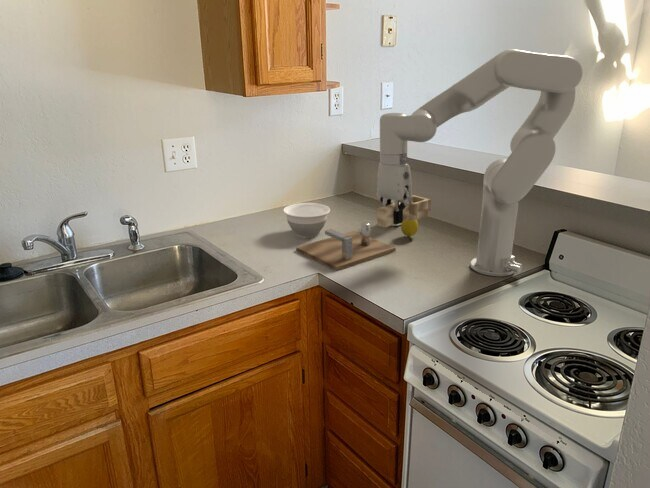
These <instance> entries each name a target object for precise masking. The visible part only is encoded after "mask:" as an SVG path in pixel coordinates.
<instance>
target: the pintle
mask: <svg viewBox="0 0 650 488" xmlns="http://www.w3.org/2000/svg"><path fill="white" fill-rule="evenodd" d="M360 225H361V226H360V228H361V229H360V230H361V231H360V234H361V245H362V246H369V245H370V238H371V223H370V222H364V221H363V222H361V224H360Z"/></svg>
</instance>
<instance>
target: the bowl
mask: <svg viewBox="0 0 650 488" xmlns="http://www.w3.org/2000/svg"><path fill="white" fill-rule="evenodd" d="M282 211H283V213H284V214H285V215H286V221H287V224H288V225H289V228H290V229H291V230H292V231H293V232H294V235H295V236H296V237H299V238H307V239H308V238H314V237H317V236H319V235H320V234H321V231H322V230H323V228H324V226H325V225H326V222H327V218H328V214H329V213H330V212H331V208H330V207H329V206H328V205H325V204H322V203H316V202H298V203H293V204H290V205H287V206H285V207H284V208H283V210H282Z"/></svg>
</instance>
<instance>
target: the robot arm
mask: <svg viewBox="0 0 650 488" xmlns="http://www.w3.org/2000/svg"><path fill="white" fill-rule="evenodd" d="M583 74H584V72H583V66H582V65H581V63H580V61H578V60H577V59H576V58H575V57H572V56H569V55H562V54H548V53H541V52H532V51H527V50H521V49H514V48H510V49H506V50H503V51H501V52H500V53H497V54H496V55H495V56H494V57H492V58H490V60H487V61H486V62H485V63H483V64H482V65H481V66H479V67H478V68H476V69H474V71H472V72H470V73H469V74H468V75H466V76H465V77H464V78H462V79H460V80H459V81H457V82H456V83H453V85H451V86H450V87H448V88H446V89H445V90H444V91H442V92H440V93H439V94H438V95H436V96H435V97H433V98H432V99H430V100H429V101H427V102H426V103H424V104H423V105H421V106H420V107H419V108H417V109H416V110H415V111H413V113H412V114H410V115H406V113H403V112H391V113H384V114H382V115H381V116H380V117H379V163H378V168H377V177H376V178H377V179H376V191H377V192H376V194H375V195H376V197H377V198H378V200H380V202H381V204H382V206H381V207H383V206H387V205H390V204H392V200H394V201H395V211H394V224H395V225H396V224H399V223H402V222H403V210H404V209H405V207H406V206H407V205H410V204H412V201H411V198H412V195H413V180H412V172H411V166H410V164H409V163H408V162H409V161H410V158H409V157H408V141H409V142H415V143H426V142H428V141H430V140H432V139H433V138H434V136H435V135H436V133H437V129H438V128H439V127H440V126H441V125H443V124H445V123H446V122H448V121H450V120H451V119H453V118H455V117H457V116H458V115H461V114H465V113H469V112H472V111H475V110H477V109H478V108H480V107H481V106H484V105H485V104H486V103H487V102H489V101H491V100H492V99H493V98H495V97H496V96H498V95H499V94H501V93H502V92H504V91H506V90H507V89H508V88H510V87H511V88H512V87H513V88H516V89H517V88H518V89H523V90H530V91H531V90H532V91H538V92H540V96H539V98H538V100H537V103H536V104H535V106H534V108H533V109H532V110H531V111H530V113H529V115H528V116H527V118H526V119H525V120H524V122H523V123H522V124H521V126H520V127H519V129H517V130H516V132H515V134H513V136H512V137H511V140H510V142H509V143H510V146H509V147H510V151H511V153H510V154H509V156H508V157H507V159H506V158H500V159H496V160H494V161H492V162H491V163H490V164H489V165H488V166H487V168H486V169H485V172H484V174H483V182H482V184H483V185H482V203H481V204H482V205H481V213H480V214H481V215H480V223H479V231H478V232H479V233H478V241H477V249H476V250H477V253H476V257H474V258H473V259H471V261H470V264H469V266H470V268H471V269H472V270H473V271H474V272H477V273H479V274H480V275H485V276H491V277H508V276H510V275H513V274H514V273H517V274H520V273H521V272H522V269H523V264H522V263H519V262H516V261H515V258H516V256H515V255H513V249H514V240H515V232H516V231H515V230H516V225H517V219H518V210H519V202H520V201H521V200H522V199H523V198H524V197H526V196H527V194H529V192H530V191H531V189H533V187H534V185H535V184H536V183H537V182H538V181H539V180H540V178H541V177H542V175H543V174H544V173H545V171H546V170H547V169H548V168H549V166H550V165H551V163H552V162H553V159H554V157H555V155H556V149H557V148H556V143H555V142H556V141H555V140H554V138H555V136H557V134H558V133H559V132H560V130H561V129H562V127H563V125H564V124H565V122H566V121H567V120H568V118H569V116H570V114H571V113H572V110H573V108H574V105H575V100H576V87H577V86H578V85H579V84H580V82H581V80H582V77H583ZM404 199H405V201H404ZM399 202H400V205H399Z"/></svg>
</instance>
